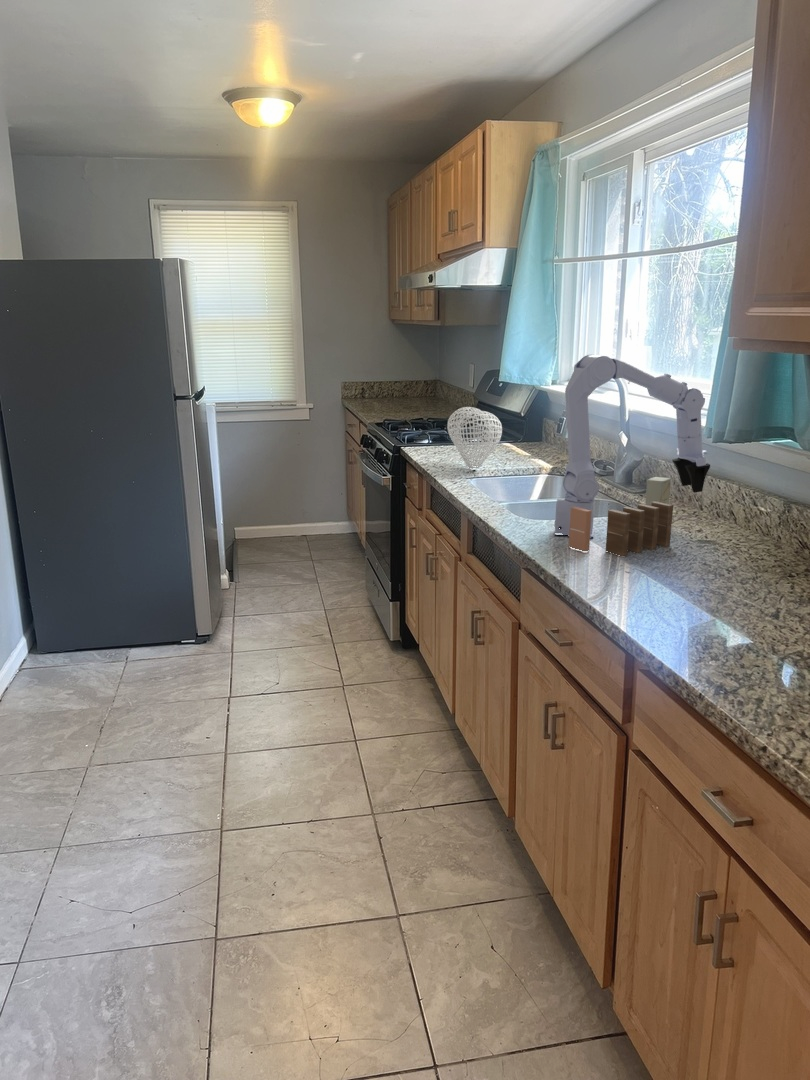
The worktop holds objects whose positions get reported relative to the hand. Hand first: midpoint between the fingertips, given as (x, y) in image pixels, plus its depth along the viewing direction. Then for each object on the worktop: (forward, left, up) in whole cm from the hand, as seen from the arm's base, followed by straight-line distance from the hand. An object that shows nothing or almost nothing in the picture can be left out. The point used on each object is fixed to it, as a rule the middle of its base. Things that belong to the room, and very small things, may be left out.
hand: (691, 488), depth 202 cm
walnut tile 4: (-17, -28, -11) cm, 35 cm away
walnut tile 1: (-7, -17, -11) cm, 21 cm away
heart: (-70, +68, -11) cm, 99 cm away
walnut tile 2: (-11, -20, -11) cm, 25 cm away
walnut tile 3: (-14, -24, -11) cm, 30 cm away
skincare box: (-8, +4, -11) cm, 14 cm away
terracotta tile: (-26, -27, -11) cm, 39 cm away
